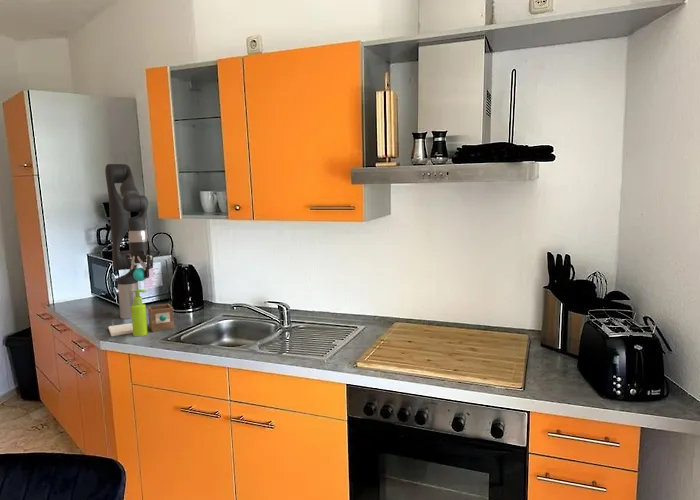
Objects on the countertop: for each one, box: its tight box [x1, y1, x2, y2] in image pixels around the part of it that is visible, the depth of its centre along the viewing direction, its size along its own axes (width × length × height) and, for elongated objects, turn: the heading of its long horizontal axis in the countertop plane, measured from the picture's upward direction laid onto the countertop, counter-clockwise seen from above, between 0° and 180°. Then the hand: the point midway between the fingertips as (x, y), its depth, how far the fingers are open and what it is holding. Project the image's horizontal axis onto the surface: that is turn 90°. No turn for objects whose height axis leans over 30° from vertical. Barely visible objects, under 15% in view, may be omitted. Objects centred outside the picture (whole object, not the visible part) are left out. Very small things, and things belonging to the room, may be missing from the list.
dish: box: [108, 322, 133, 337], centre depth 226 cm, size 13×13×1 cm
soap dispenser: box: [131, 289, 148, 337], centre depth 218 cm, size 6×7×20 cm
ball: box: [133, 267, 147, 282], centre depth 223 cm, size 6×6×6 cm
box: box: [147, 303, 175, 333], centre depth 227 cm, size 10×9×10 cm
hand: (140, 277), depth 224 cm, fingers closed on ball, 6 cm apart
